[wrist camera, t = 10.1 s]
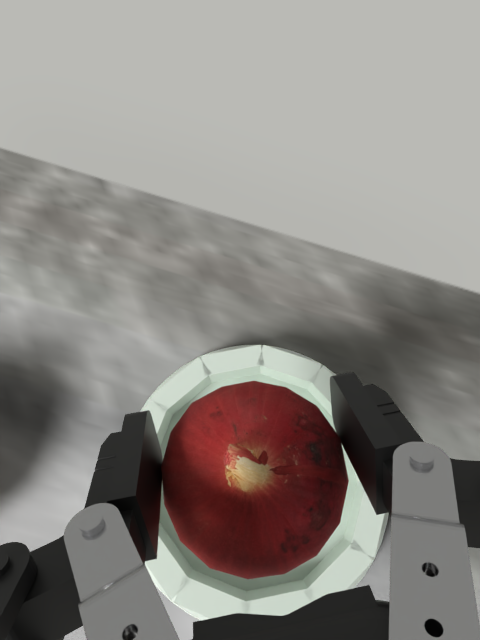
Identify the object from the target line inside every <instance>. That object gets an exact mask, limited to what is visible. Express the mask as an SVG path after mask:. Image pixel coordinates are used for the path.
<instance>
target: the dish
mask: <svg viewBox="0 0 480 640" xmlns="http://www.w3.org/2000/svg"><path fill="white" fill-rule="evenodd" d="M335 375H336V374H335V373H333V372H332V371H331V370H329V369H328V368H326V367H325V366H324V365H322V364H321V363H318V362H317V361H315V360H313V359H311V358H309V357H307V356H305V355H302V354H300V353H297V352H294V351H291V350H287V349H283V348H280V347H274V346H266V345H241V346H233V347H228V348H224V349H220V350H216V351H213V352H210V353H208V354H205V355H202V356H200V357H198V358H196V359H194V360H193V361H191V362H189V363H187V364H185V365H184V366H183V367H181V368H180V369H178V370H177V371H176V372H174V373H173V374H172V375H170V376H169V377H168V378H167V379H166V380H165V381H164V382H163V383H162V384H161V385H160V386H159V387H158V388H157V389H156V390H155V392H154V393H153V394H152V395H151V396H150V397H149V399H148V400H147V402H146V403H145V405H144V406H143V408H142V409H141V411H140V412H142V411H147V410H149V411H150V413H151V415H152V419H153V422H154V426H155V429H156V433H157V436H158V440H159V443H160V447H161V451H162V458H164V455H165V451H166V447H167V444H168V440H169V436H170V433H171V431H172V429H173V428H174V427H175V425H176V424H177V422H178V421H179V420H180V418H181V417H182V415H183V414H184V413H185V411H186V410H187V409H188V407H189V406H190V404H191V403H192V402H194V401H196V400H198V399H200V398H202V397H203V396H205V395H207V394H209V393H211V392H213V391H215V390H216V389H218V388H220V387H223V386H228V385H233V384H239V383H244V382H249V381H258V382H263V383H268V384H273V385H278V386H283V387H287V388H288V389H290V390H292V391H293V392H295V393H297V394H298V395H300V396H302V397H303V398H305V399H307V400H308V401H310V402H312V403H313V404H315V405H316V406H317V407H318V408H319V409H320V411H321V412H322V413H323V415H324V416H325V418H326V419H327V420H328V422H329V423H330V425H331V426H332V427H333V429H334V430H335V427H334V423H333V418H332V407H331V393H330V377H331V376H335ZM335 432H336V430H335ZM342 449H343V454H344V459H345V464H346V469H347V474H348V479H349V482H348V487H347V492H346V497H345V502H344V507H343V511H342V516H341V521H340V524H339V525H338V527H337V528H336V529H335V531H334V532H333V534H332V535H331V536H330V538H329V539H328V541H327V542H326V544H325V545H324V546H323V548H322V549H321V551H320V552H319V553H318V555H317V556H315V557H314V558H312V559H310V560H308V561H307V562H305V563H303V564H301V565H300V566H298V567H296V568H294V569H293V570H291V571H289V572H287V573H286V574H282V575H275V576H267V577H260V578H253V579H245V578H241V577H238V576H234V575H231V574H227V573H224V572H221V571H217V570H214V569H210V568H209V567H208V566H207V565H206V564H205V563H204V562H202V561H201V560H200V559H199V558H198V557H197V556H196V555H195V554H194V553H193V552H192V551H191V550H189V549H188V548H187V547H186V546H185V545H184V544H183V543H182V542H181V541H180V539H179V537H178V535H177V532H176V530H175V528H174V526H173V523H172V521H171V519H170V516H169V514H168V512H167V510H166V507H165V505H164V495H163V483H162V491H161V505H160V520H159V535H158V550H157V559H154V560H149V561H145V566H146V568H147V570H148V572H149V574H150V576H151V578H152V581H153V583H154V584H155V586H156V587H157V588H158V589H159V590H160V591H161V592H162V593H163V594H164V595H165V596H166V597H167V598H168V599H169V600H170V601H171V602H172V603H174V604H175V605H177V606H178V607H179V608H181V609H182V610H183V611H185V612H186V613H188V614H189V615H191V616H193V617H195V618H197V619H199V620H201V621H202V620H206V619H211V618H216V617H221V616H225V615H230V614H235V613H244V614H260V615H276V616H283V615H287V614H289V613H291V612H293V611H295V610H297V609H299V608H301V607H303V606H305V605H307V604H309V603H311V602H312V601H314V600H316V599H318V598H320V597H322V596H324V595H326V594H330V593H334V592H339V591H344V590H349V589H353V588H355V587H356V586H357V584H358V583H359V582H360V581H361V580H362V578H363V577H364V576H365V574H366V572H367V571H368V569H369V567H370V566H371V564H372V562H373V561H374V559H375V556H376V554H377V552H378V550H379V547H380V545H381V543H382V539H383V536H384V532H385V529H386V525H387V521H388V514H389V513H384V514H379V515H376V513H375V511H374V509H373V507H372V505H371V503H370V501H369V498H368V496H367V494H366V492H365V490H364V488H363V486H362V484H361V482H360V480H359V478H358V476H357V474H356V472H355V470H354V468H353V466H352V464H351V462H350V460H349V458H348V456H347V454H346V452H345V450H344V448H343V446H342Z"/></svg>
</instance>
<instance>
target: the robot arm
mask: <svg viewBox="0 0 480 640" xmlns="http://www.w3.org/2000/svg"><path fill="white" fill-rule="evenodd" d="M330 393H331V407H332V418H333V423H334V427H335V430H336V433H337V434H338V436H339V437H340V439H341V444H342V446H343V448H344V450H345V452H346V454H347V456H348V458H349V460H350V462H351V464H352V466H353V468H354V470H355V472H356V474H357V476H358V478H359V480H360V482H361V484H362V486H363V488H364V490H365V492H366V494H367V496H368V498H369V501H370V503H371V505H372V507H373V509H374V511H375V513H376V515H379V514H384V513H389V514H390V516H391V557H390V602H387V601H380V600H375V598H374V596H373V593H372V591H371V588H370V586H369V585H368V586H363V587H358V588H353V589H349V590H344V591H339V592H334V593H330V594H326V595H324V596H322V597H320V598H318V599H316V600H314V601H312V602H311V603H309V604H307V605H305V606H303V607H301V608H299V609H297V610H295V611H293V612H291V613H289V614H287V615H283V616H276V615H260V614H244V613H235V614H230V615H225V616H221V617H216V618H211V619H206V620H202V621H197V622H193V639H192V640H480V625H479V619H478V612H477V605H476V599H475V592H474V585H473V578H472V572H471V565H470V558H469V552H468V547H474V548H480V461H467V460H456V459H451V458H449V456H448V455H447V454H446V453H445V452H444V451H443V450H442V449H440V448H439V447H437V446H435V445H432V444H429V443H425V442H423V440H422V439H421V438H420V436H419V435H418V434H417V432H416V431H415V430H414V428H413V427H412V426H411V424H410V423H409V422H408V420H407V419H406V418H405V416H404V415H403V414H402V413H401V412H400V410H399V409H398V407H397V406H396V405H395V404H394V402H393V401H392V399H391V398H390V397H389V395H388V394H387V393H386V392H385V391H384V390H382V389H380V388H379V387H377V386H375V385H373V384H371V385H366V386H363V385H362V383H361V382H360V380H359V379H358V377H357V376H356V375H355V373H354V372H351V373H345V374H340V375H335V376H331V377H330ZM162 462H163V458H162V451H161V447H160V443H159V440H158V436H157V433H156V429H155V426H154V422H153V419H152V415H151V413H150V411H149V410H147V411H142V412H136V413H131V414H126V415H125V417H124V422H123V426H122V431H121V432H116V433H111V434H110V435H109V436H108V438H107V439H106V440H105V442H104V443H103V444H102V445H101V448H100V452H99V456H98V461H97V463H96V467H95V472H94V474H93V478H92V482H91V486H90V489H89V493H88V497H87V501H86V504H85V508H84V509H83V510H81V511H80V512H79V513H77V514H76V515H75V516H74V517H73V518H72V519H71V520H70V522H69V523H68V525H67V527H66V529H65V532H64V535H63V536H62V537H60V538H59V539H57V540H55V541H53V542H51V543H49V544H47V545H44V546H42V547H40V548H38V549H36V550H34V551H32V552H30V551H29V549H28V548H27V546H26V545H24V544H22V543H19V542H11V543H6V544H3V545H0V640H63V639H64V636H65V635H67V634H68V633H70V632H72V631H74V630H76V629H78V628H79V627H81V626H83V627H84V631H85V634H86V638H87V640H179V638H178V635H177V633H176V631H175V629H174V627H173V624H172V622H171V620H170V618H169V616H168V613H167V611H166V609H165V607H164V605H163V602H162V600H161V598H160V596H159V594H158V591H157V589H156V587H155V585H154V583H153V581H152V578H151V576H150V574H149V572H148V570H147V568H146V566H145V561H149V560H154V559H157V550H158V535H159V520H160V505H161V491H162V471H161V466H162Z"/></svg>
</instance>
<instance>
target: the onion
mask: <svg viewBox="0 0 480 640" xmlns="http://www.w3.org/2000/svg"><path fill="white" fill-rule="evenodd" d="M161 471H162V483H163V495H164V505H165V507H166V510H167V512H168V514H169V516H170V519H171V521H172V523H173V526H174V528H175V530H176V532H177V535H178V537H179V539H180V541H181V542H182V543H183V544H184V545H185V546H186V547H187V548H188V549H189V550H191V551H192V552H193V553H194V554H195V555H196V556H197V557H198V558H199V559H200V560H201V561H202V562H204V563H205V564H206V565H207V566H208V567H209V568H210V569H214V570H217V571H221V572H224V573H227V574H231V575H234V576H238V577H241V578H245V579H253V578H260V577H267V576H275V575H282V574H286V573H287V572H289V571H291V570H293V569H294V568H296V567H298V566H300V565H301V564H303V563H305V562H307V561H308V560H310V559H312V558H314V557H315V556H317V555H318V553H319V552H320V551H321V549H322V548H323V546H324V545H325V544H326V542H327V541H328V539H329V538H330V536H331V535H332V534H333V532H334V531H335V529H336V528H337V527H338V525H339V524H340V521H341V516H342V511H343V507H344V502H345V497H346V492H347V487H348V482H349V479H348V474H347V469H346V464H345V459H344V454H343V449H342V444H341V439H340V437H339V436H338V434H337V433H336V432H335V430H334V429H333V427H332V426H331V425H330V423H329V422H328V420H327V419H326V418H325V416H324V415H323V413H322V412H321V411H320V409H319V408H318V407H317V406H316V405H315V404H313V403H312V402H310V401H308V400H307V399H305V398H303V397H302V396H300V395H298V394H297V393H295V392H293V391H292V390H290V389H288V388H287V387H283V386H278V385H273V384H268V383H263V382H258V381H249V382H244V383H239V384H233V385H228V386H223V387H220V388H218V389H216V390H215V391H213V392H211V393H209V394H207V395H205V396H203V397H202V398H200V399H198V400H196V401H194V402H192V403H191V404H190V406H189V407H188V409H187V410H186V411H185V413H184V414H183V415H182V417H181V418H180V420H179V421H178V422H177V424H176V425H175V427H174V428H173V429H172V431H171V433H170V436H169V440H168V444H167V447H166V451H165V455H164V458H163V462H162V466H161Z"/></svg>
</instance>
